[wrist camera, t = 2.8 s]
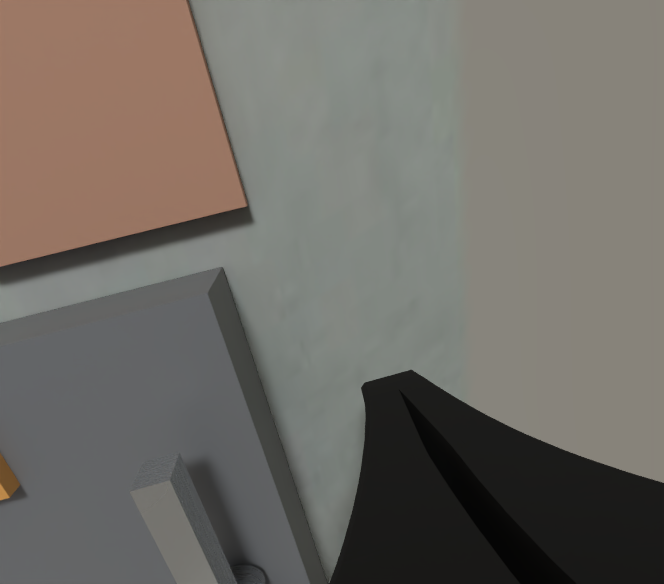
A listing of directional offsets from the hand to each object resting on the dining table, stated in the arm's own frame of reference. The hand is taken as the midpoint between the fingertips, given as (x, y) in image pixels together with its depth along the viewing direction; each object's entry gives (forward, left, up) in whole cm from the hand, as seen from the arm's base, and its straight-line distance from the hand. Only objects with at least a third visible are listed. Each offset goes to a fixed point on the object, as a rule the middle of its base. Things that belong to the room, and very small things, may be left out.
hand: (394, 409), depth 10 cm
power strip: (-8, -6, -3) cm, 10 cm away
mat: (-6, +9, -3) cm, 11 cm away
